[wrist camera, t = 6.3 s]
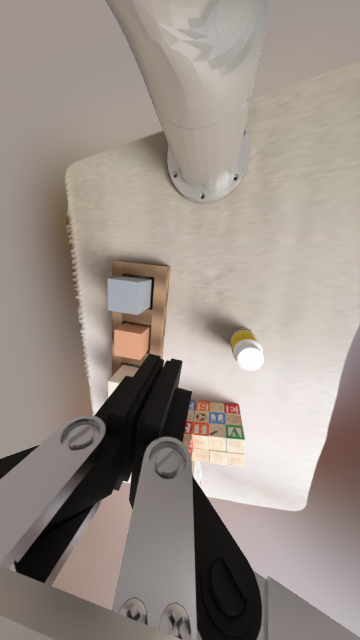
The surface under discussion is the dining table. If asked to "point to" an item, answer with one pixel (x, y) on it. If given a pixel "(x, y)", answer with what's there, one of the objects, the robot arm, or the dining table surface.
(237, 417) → the stack of blocks
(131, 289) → the button slate
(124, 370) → the button cream
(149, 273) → the button board
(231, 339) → the supplement bottle
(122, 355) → the peach block
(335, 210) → the dining table surface
